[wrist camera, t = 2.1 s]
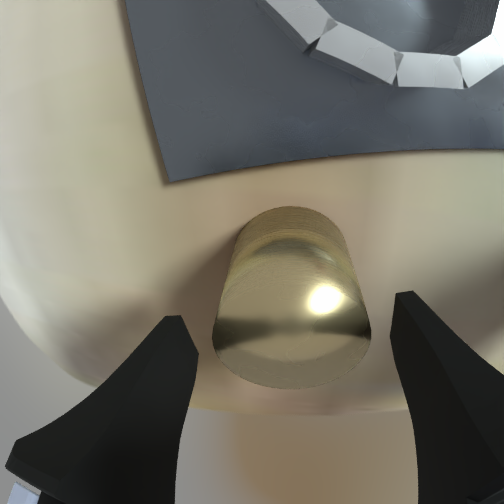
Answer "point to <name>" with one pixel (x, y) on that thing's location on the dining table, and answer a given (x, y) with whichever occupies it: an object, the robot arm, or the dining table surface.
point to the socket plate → (317, 78)
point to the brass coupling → (291, 303)
